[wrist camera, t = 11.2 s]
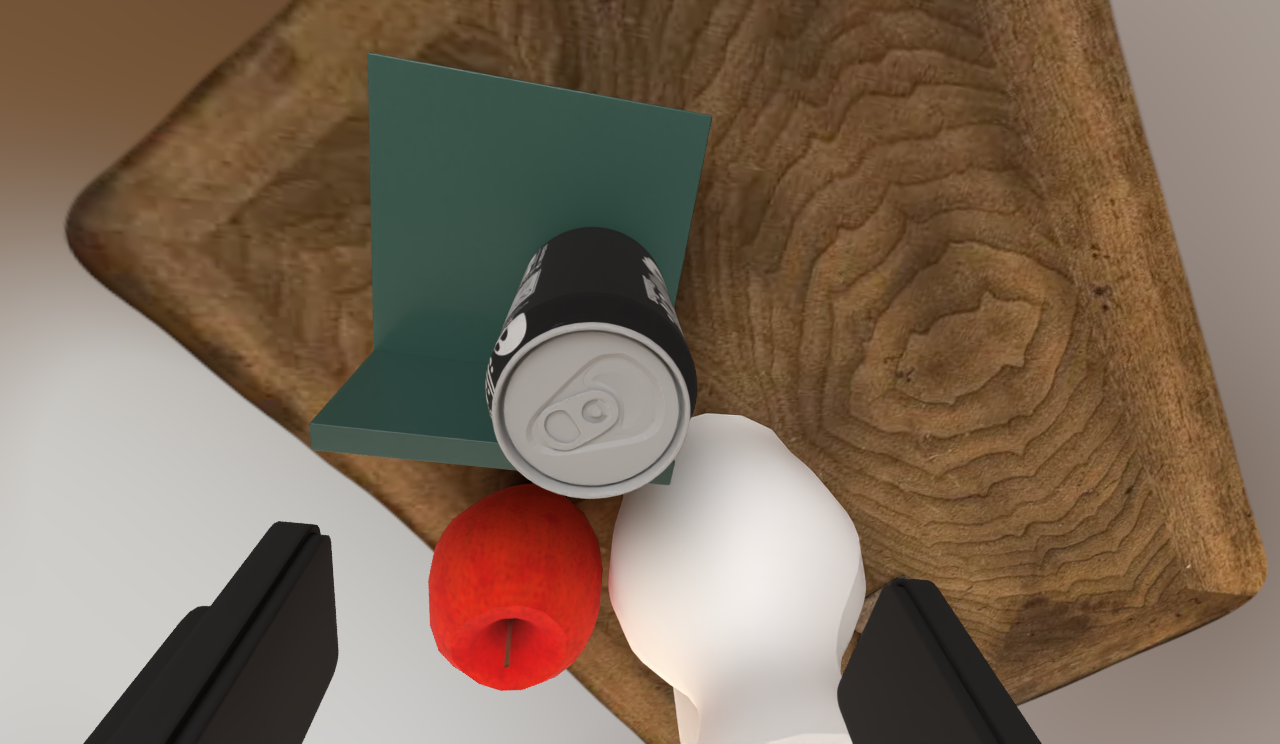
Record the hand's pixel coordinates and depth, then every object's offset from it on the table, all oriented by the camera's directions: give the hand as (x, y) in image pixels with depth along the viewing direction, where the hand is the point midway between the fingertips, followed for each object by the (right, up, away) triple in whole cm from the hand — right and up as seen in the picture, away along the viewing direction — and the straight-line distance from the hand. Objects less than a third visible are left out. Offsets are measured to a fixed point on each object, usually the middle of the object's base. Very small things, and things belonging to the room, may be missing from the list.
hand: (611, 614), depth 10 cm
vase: (+5, -4, +31) cm, 31 cm away
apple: (-7, -5, +30) cm, 31 cm away
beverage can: (-2, +8, +18) cm, 20 cm away
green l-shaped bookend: (-5, +12, +22) cm, 26 cm away
